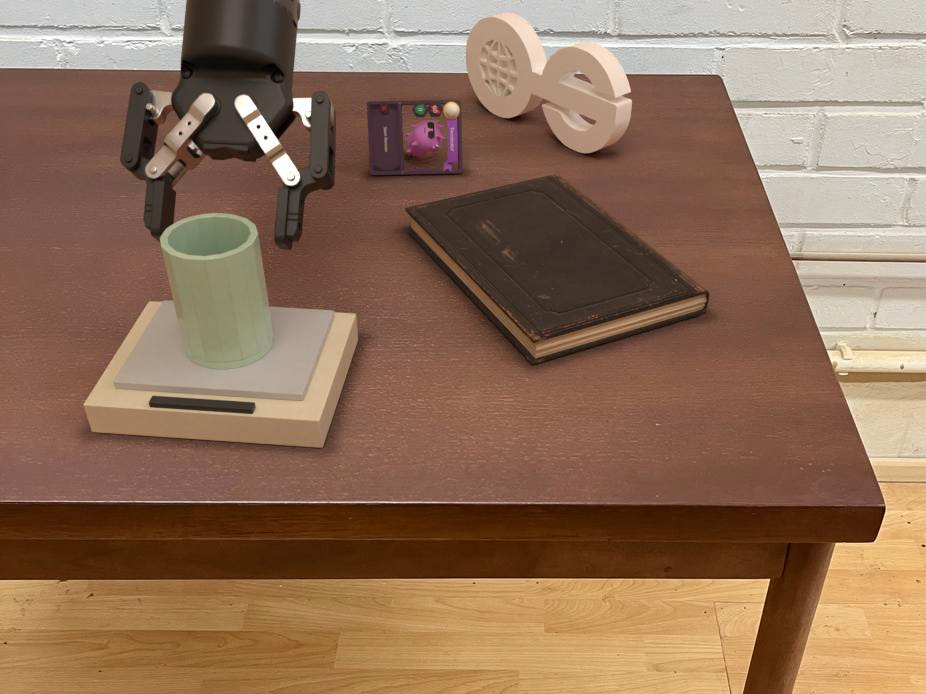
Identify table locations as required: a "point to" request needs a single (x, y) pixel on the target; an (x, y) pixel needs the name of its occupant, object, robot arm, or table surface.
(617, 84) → the beige logo cutout
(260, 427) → the scale
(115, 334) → the table surface
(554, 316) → the hardcover book
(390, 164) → the game card
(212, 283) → the cup
